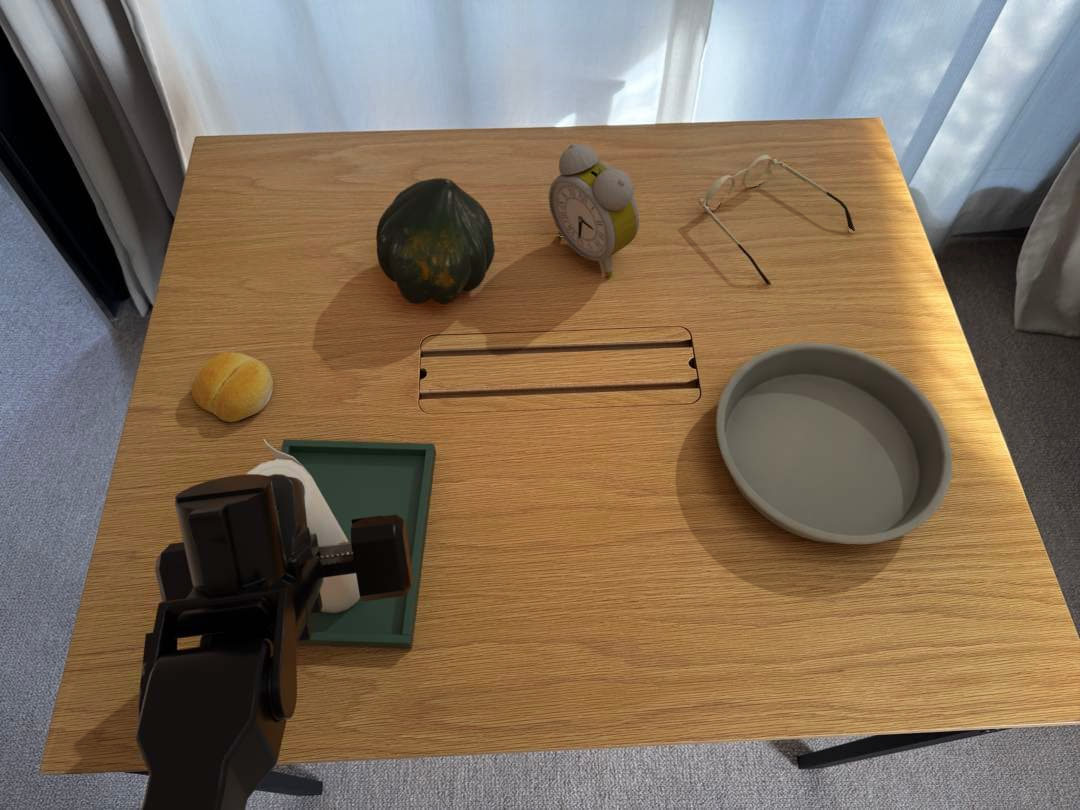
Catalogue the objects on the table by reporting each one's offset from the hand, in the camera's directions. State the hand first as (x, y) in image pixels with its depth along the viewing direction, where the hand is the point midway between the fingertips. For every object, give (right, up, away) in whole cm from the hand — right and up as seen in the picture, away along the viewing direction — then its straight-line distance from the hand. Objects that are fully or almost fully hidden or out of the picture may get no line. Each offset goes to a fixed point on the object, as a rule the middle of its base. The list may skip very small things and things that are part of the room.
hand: (309, 530), depth 68 cm
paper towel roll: (0, -7, +9) cm, 11 cm away
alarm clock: (+28, +32, +34) cm, 54 cm away
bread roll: (-15, +13, +22) cm, 29 cm away
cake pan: (+52, +6, +17) cm, 55 cm away
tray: (0, -3, +12) cm, 12 cm away
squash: (+8, +28, +31) cm, 43 cm away
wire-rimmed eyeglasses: (+52, +35, +36) cm, 72 cm away
